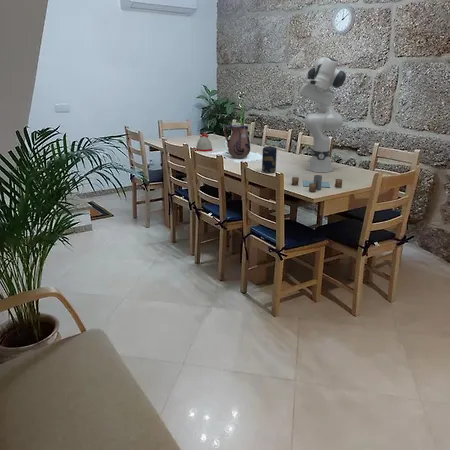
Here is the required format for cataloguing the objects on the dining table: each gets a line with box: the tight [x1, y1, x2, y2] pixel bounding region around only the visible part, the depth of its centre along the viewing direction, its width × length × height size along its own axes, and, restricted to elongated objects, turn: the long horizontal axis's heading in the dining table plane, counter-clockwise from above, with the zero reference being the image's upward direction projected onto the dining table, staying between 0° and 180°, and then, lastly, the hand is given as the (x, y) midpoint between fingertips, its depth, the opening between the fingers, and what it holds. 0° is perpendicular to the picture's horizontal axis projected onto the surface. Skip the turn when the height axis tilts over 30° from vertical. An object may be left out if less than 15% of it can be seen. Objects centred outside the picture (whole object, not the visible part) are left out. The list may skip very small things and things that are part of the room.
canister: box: [261, 145, 278, 174], centre depth 291 cm, size 10×10×18 cm
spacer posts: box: [291, 176, 343, 193], centre depth 254 cm, size 17×30×4 cm, turn 81°
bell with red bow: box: [195, 132, 213, 153], centre depth 366 cm, size 14×14×15 cm
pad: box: [302, 180, 331, 189], centre depth 263 cm, size 12×16×1 cm
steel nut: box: [313, 174, 323, 191], centre depth 253 cm, size 5×4×8 cm
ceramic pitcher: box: [223, 124, 251, 160], centre depth 335 cm, size 18×21×25 cm
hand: (310, 108), depth 253 cm, fingers open, 8 cm apart
